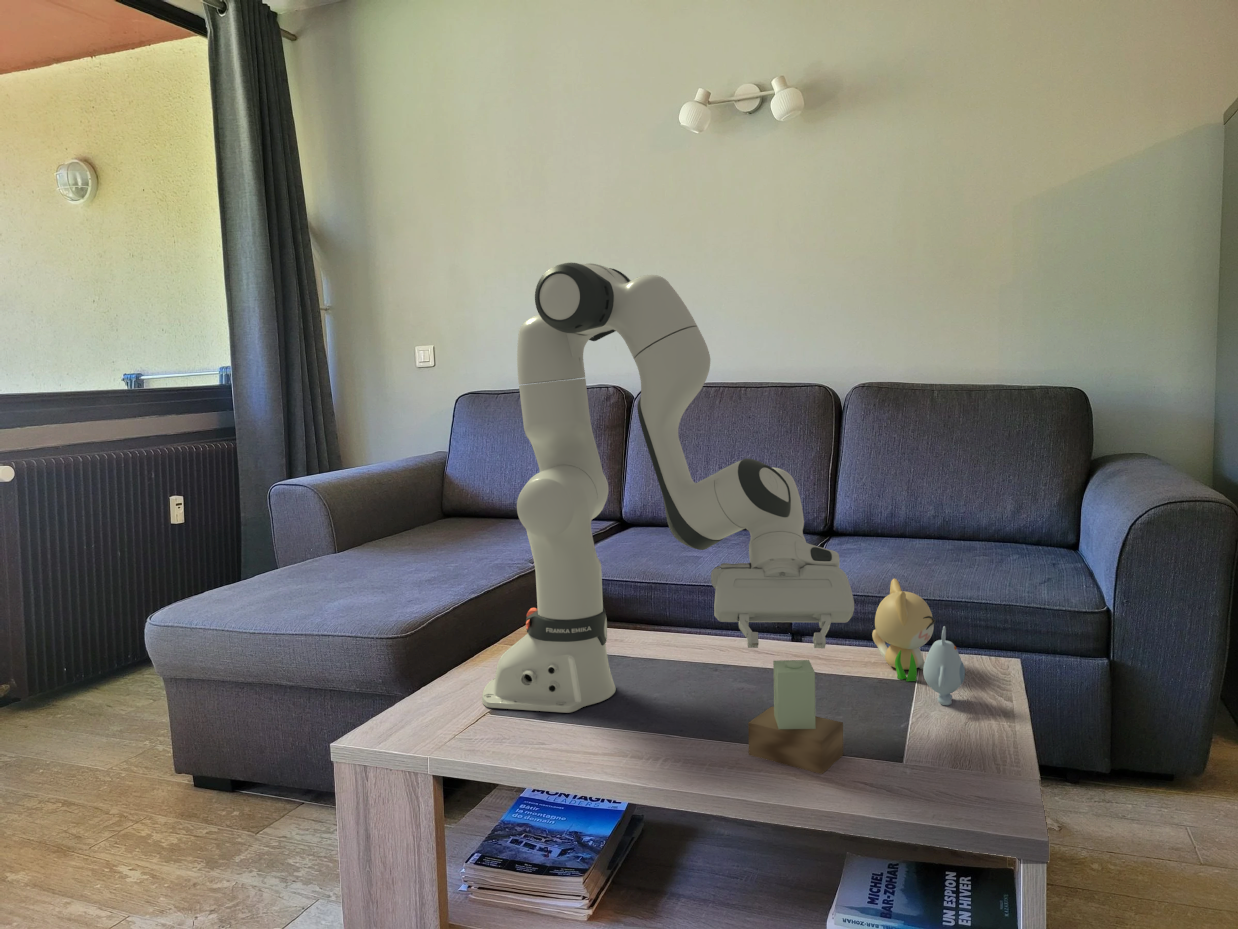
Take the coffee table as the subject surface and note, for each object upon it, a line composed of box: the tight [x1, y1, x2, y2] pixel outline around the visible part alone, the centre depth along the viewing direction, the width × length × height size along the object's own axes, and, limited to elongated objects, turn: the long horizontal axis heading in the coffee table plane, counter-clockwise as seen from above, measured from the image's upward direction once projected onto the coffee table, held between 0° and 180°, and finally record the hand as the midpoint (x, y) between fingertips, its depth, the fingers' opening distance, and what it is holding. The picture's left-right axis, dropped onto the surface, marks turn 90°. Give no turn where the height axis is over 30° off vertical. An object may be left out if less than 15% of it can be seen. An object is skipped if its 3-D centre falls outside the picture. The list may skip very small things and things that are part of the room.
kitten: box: [871, 577, 936, 682], centre depth 156 cm, size 15×10×15 cm
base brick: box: [747, 705, 844, 775], centre depth 123 cm, size 11×7×5 cm, turn 53°
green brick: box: [772, 659, 816, 729], centre depth 123 cm, size 5×5×8 cm
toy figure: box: [922, 625, 966, 706], centre depth 140 cm, size 11×6×12 cm, turn 156°
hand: (786, 646), depth 126 cm, fingers open, 8 cm apart
